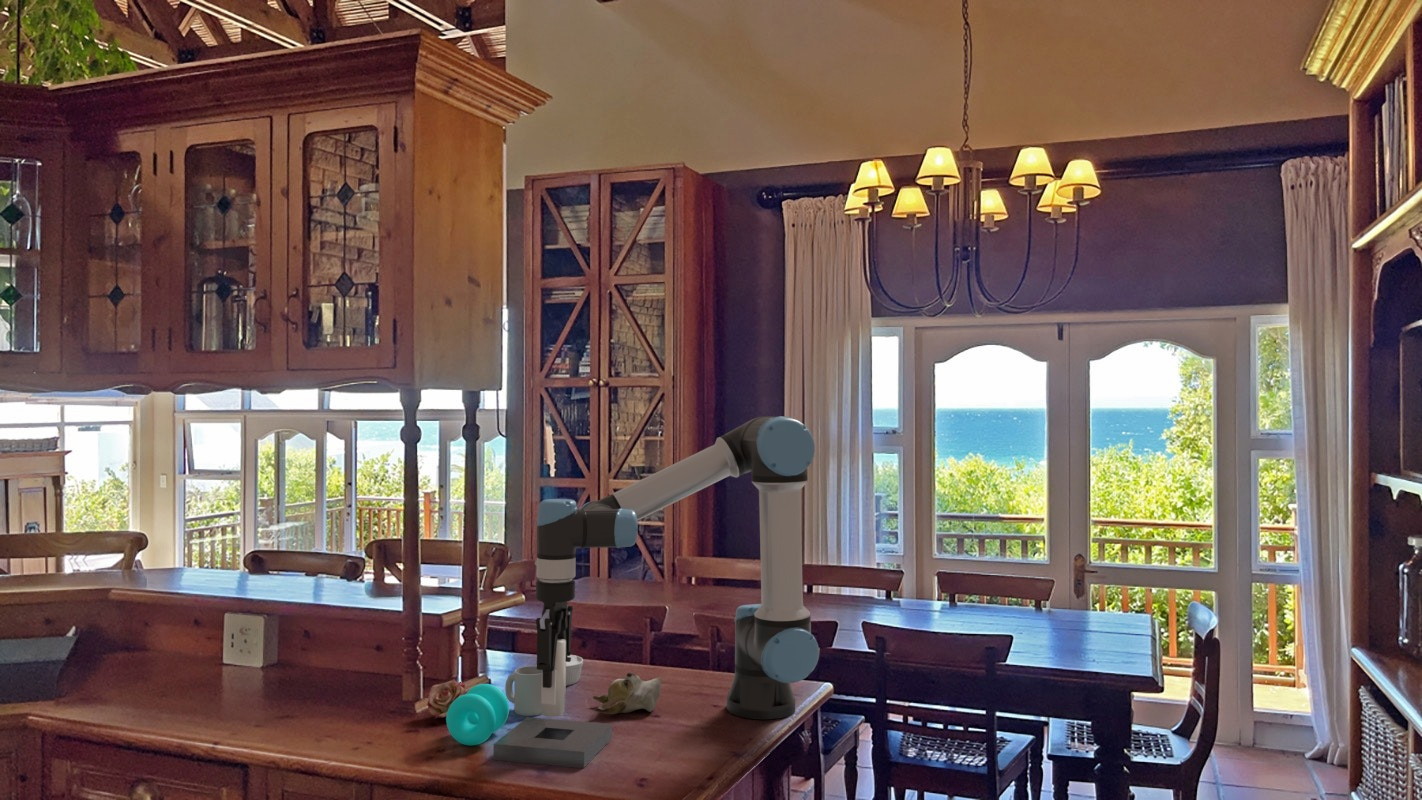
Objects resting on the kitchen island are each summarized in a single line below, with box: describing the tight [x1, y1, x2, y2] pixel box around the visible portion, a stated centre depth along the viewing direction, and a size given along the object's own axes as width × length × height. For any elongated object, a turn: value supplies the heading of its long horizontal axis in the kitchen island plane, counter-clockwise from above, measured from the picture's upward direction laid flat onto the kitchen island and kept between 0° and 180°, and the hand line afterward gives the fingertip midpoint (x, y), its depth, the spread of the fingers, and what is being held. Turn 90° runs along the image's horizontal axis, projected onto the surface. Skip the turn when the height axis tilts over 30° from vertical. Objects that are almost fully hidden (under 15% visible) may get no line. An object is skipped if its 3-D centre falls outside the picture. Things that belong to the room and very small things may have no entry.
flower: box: [426, 678, 467, 720], centre depth 206 cm, size 9×9×7 cm
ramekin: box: [565, 654, 584, 687], centre depth 234 cm, size 11×11×5 cm
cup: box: [504, 665, 542, 717], centre depth 211 cm, size 7×10×9 cm
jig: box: [492, 716, 613, 769], centre depth 188 cm, size 18×16×3 cm
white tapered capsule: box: [541, 639, 566, 718], centre depth 188 cm, size 4×4×14 cm
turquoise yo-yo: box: [445, 683, 510, 746], centre depth 193 cm, size 10×10×10 cm
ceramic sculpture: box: [592, 672, 662, 715], centre depth 211 cm, size 11×9×15 cm
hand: (553, 699), depth 188 cm, fingers closed on white tapered capsule, 4 cm apart
